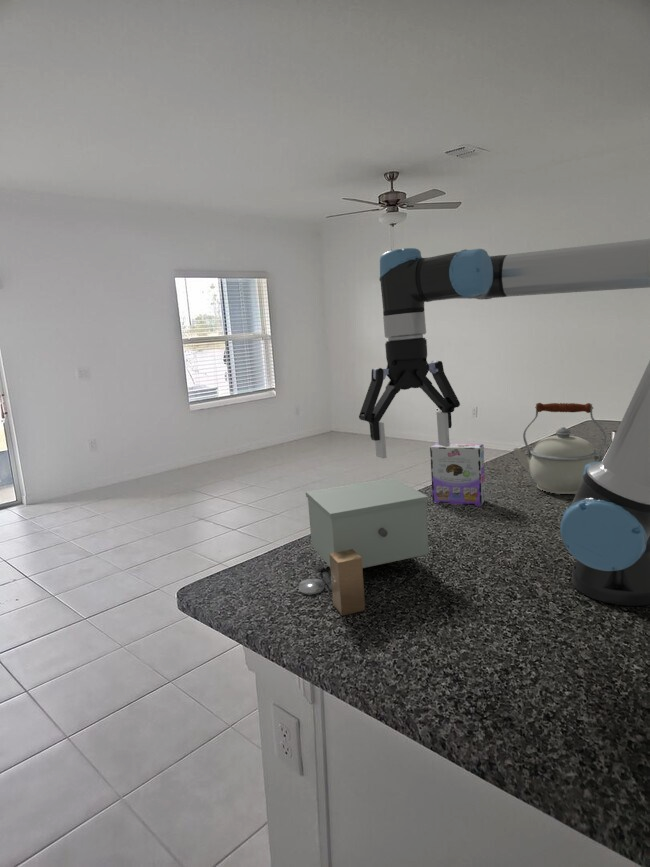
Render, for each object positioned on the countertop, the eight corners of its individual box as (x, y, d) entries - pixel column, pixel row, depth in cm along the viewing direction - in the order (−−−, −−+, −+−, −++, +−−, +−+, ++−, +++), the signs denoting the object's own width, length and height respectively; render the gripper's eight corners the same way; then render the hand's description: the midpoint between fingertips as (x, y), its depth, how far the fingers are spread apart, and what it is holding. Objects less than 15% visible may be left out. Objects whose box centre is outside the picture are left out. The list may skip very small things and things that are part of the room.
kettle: (608, 482, 162) (610, 398, 158) (600, 501, 147) (602, 408, 143) (520, 476, 176) (520, 398, 171) (505, 492, 161) (504, 407, 156)
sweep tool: (365, 610, 99) (361, 557, 98) (341, 615, 98) (337, 562, 96) (336, 576, 114) (332, 530, 112) (315, 581, 112) (311, 534, 110)
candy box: (486, 500, 154) (484, 443, 152) (481, 507, 149) (480, 447, 146) (437, 497, 161) (435, 441, 158) (431, 503, 156) (429, 446, 153)
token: (326, 593, 107) (326, 587, 107) (301, 597, 107) (300, 591, 106) (321, 582, 112) (321, 577, 112) (297, 586, 111) (296, 580, 111)
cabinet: (433, 573, 112) (430, 497, 109) (337, 595, 106) (331, 515, 103) (396, 544, 128) (392, 477, 125) (311, 561, 122) (305, 491, 119)
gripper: (451, 333, 109) (457, 438, 113) (335, 344, 101) (345, 458, 104) (474, 331, 102) (480, 443, 106) (351, 343, 94) (362, 465, 97)
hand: (413, 451), depth 105 cm, fingers open, 13 cm apart
